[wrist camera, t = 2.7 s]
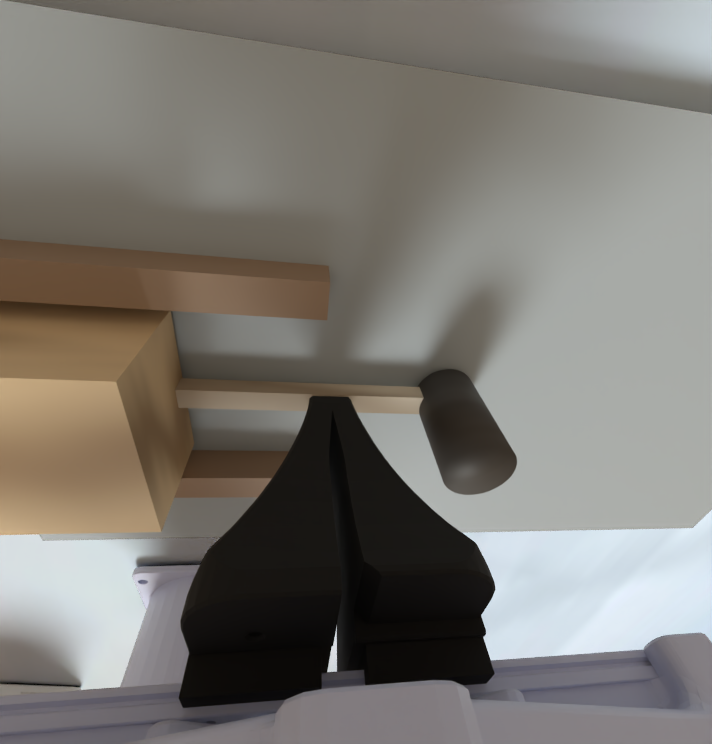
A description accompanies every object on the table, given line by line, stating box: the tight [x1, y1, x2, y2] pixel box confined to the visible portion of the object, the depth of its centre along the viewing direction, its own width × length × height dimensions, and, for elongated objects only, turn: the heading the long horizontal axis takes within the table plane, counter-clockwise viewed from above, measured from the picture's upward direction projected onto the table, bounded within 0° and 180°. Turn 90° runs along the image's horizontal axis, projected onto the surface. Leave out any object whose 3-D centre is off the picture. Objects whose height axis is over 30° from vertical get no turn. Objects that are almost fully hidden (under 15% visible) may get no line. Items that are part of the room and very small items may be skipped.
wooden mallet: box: [0, 301, 517, 535], centre depth 12 cm, size 6×17×4 cm, turn 84°
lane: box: [0, 0, 712, 541], centre depth 15 cm, size 20×37×2 cm, turn 84°
